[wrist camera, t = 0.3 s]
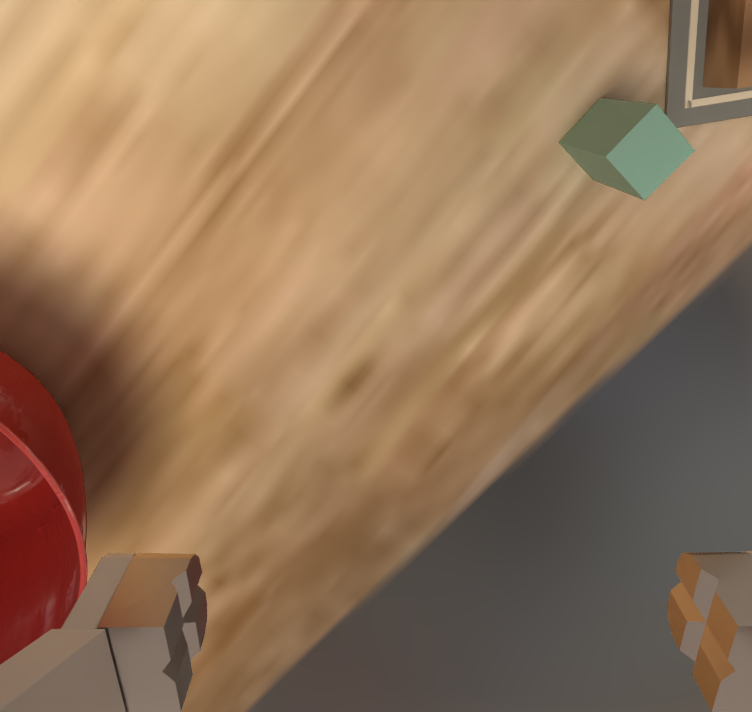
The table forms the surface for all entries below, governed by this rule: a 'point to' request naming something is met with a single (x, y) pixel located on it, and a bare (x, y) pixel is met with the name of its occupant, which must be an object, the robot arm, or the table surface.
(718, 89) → the board
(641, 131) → the pillar
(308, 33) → the table surface
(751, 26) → the base block
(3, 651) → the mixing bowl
